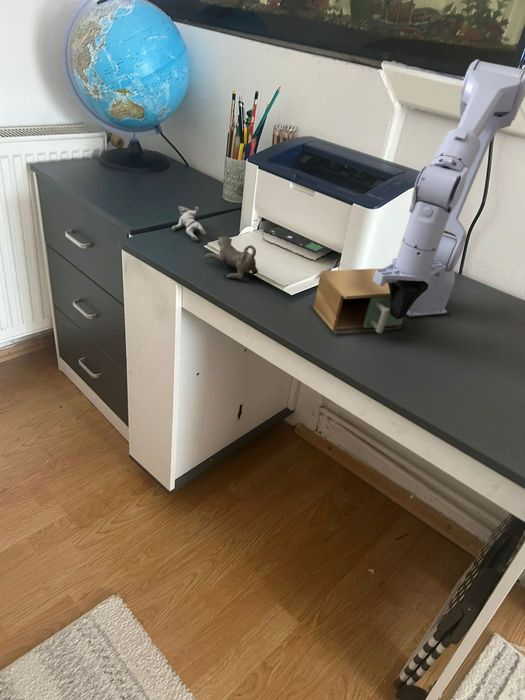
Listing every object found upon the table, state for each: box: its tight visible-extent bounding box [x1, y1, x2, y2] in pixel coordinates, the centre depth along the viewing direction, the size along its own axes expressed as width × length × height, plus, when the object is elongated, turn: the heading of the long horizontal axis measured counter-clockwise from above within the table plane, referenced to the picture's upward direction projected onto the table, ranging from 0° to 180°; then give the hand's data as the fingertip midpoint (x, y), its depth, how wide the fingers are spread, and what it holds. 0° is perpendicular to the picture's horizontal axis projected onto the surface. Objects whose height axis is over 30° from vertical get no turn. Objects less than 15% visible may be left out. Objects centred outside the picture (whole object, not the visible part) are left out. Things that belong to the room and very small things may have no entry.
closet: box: [312, 267, 402, 336], centre depth 96 cm, size 14×9×8 cm
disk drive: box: [262, 227, 325, 253], centre depth 123 cm, size 10×3×15 cm
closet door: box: [363, 296, 405, 334], centre depth 93 cm, size 8×4×6 cm, turn 112°
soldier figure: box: [171, 205, 207, 242], centre depth 120 cm, size 8×5×12 cm
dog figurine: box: [203, 236, 259, 280], centre depth 105 cm, size 12×6×7 cm, turn 44°
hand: (396, 316), depth 92 cm, fingers closed
